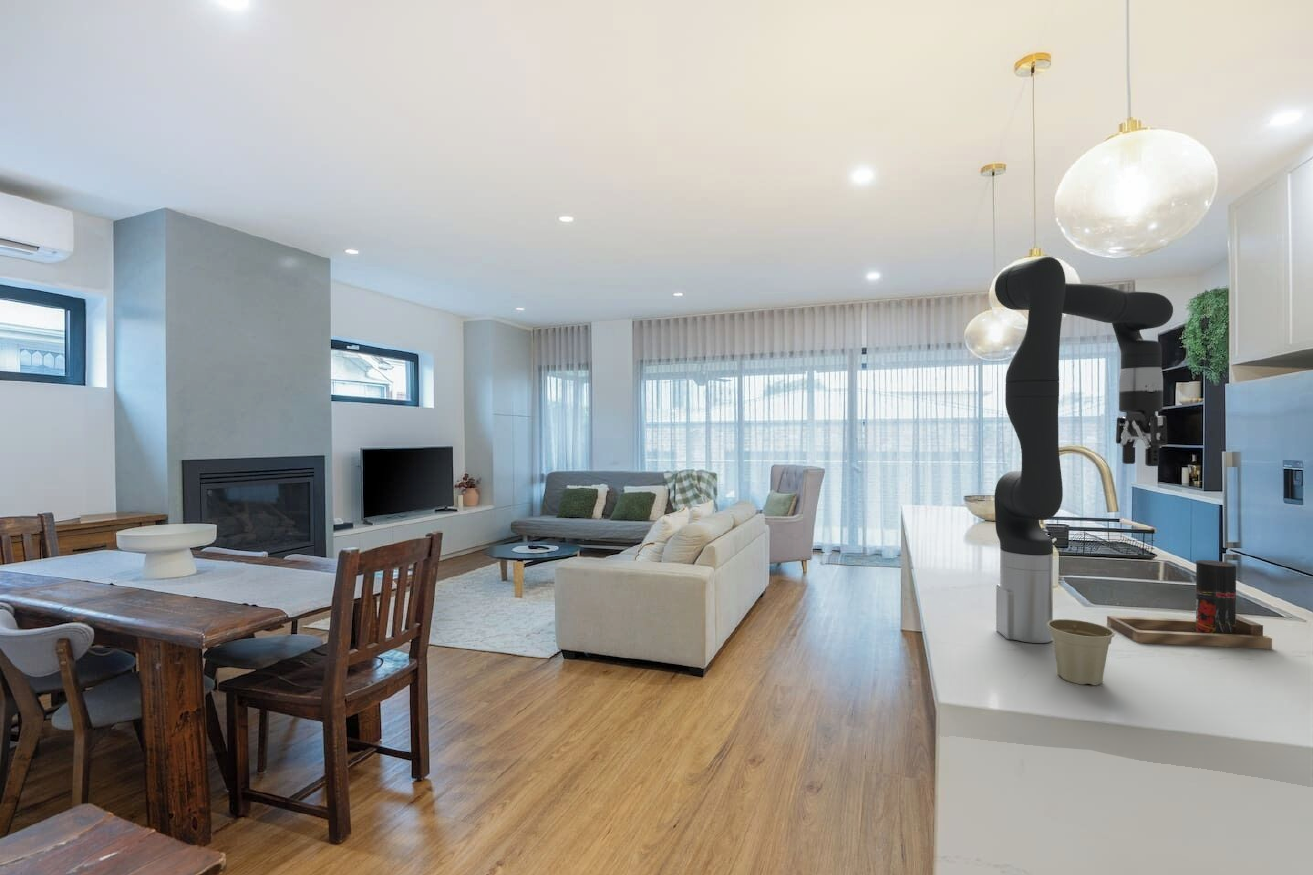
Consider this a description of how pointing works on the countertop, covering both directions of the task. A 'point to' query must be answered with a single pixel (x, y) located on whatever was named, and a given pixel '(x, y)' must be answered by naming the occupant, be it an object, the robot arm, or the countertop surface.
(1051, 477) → the robot arm
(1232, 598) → the deodorant
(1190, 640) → the wooden frame
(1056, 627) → the flower pot
